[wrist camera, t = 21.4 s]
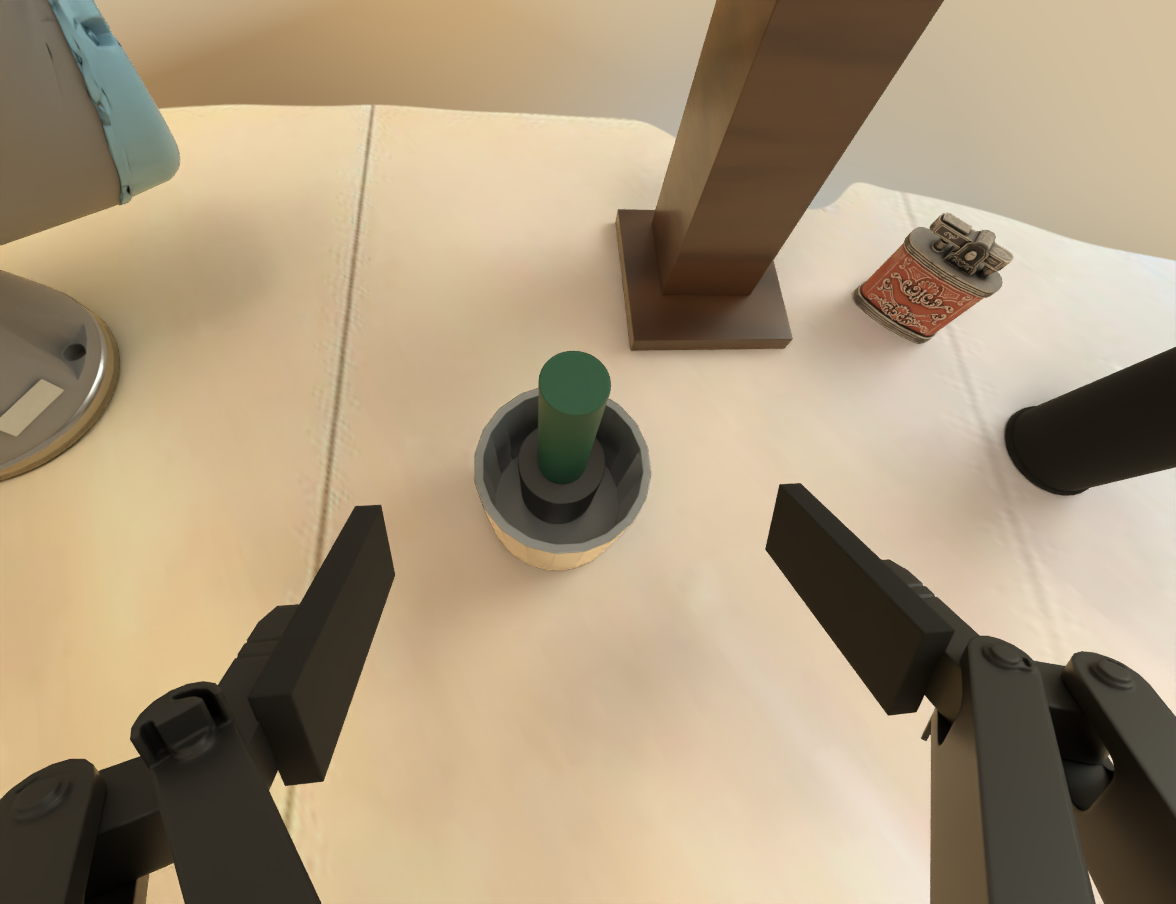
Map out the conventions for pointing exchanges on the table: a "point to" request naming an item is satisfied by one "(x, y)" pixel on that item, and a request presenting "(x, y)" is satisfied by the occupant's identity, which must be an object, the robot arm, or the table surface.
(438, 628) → the table surface
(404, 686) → the table surface
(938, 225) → the lighter
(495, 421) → the steel cup
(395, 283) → the table surface
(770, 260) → the stand
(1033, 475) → the aerosol can
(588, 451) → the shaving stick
